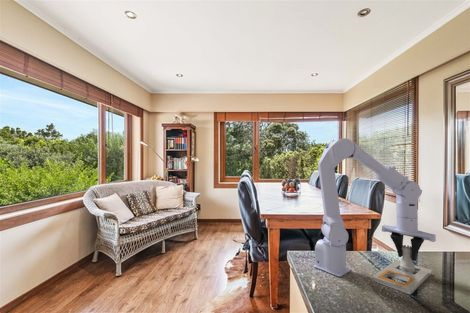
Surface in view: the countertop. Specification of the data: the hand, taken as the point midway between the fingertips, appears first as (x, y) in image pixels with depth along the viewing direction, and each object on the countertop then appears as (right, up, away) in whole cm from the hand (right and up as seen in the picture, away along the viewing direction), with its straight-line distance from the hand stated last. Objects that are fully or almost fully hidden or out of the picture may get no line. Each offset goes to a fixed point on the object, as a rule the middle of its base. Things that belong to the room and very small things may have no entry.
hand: (407, 257), depth 79 cm
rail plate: (-4, -5, -3) cm, 7 cm away
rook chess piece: (0, -4, 0) cm, 4 cm away
